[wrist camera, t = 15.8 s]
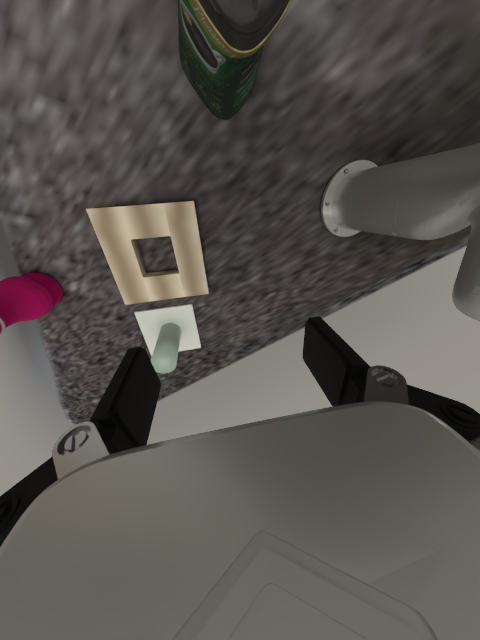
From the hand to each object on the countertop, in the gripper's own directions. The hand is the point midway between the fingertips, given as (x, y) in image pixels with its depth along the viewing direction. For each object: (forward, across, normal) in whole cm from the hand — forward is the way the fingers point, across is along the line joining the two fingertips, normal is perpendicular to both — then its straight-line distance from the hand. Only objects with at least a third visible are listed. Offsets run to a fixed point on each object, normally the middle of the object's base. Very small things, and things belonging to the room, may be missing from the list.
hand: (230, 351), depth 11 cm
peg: (+30, +13, +16) cm, 37 cm away
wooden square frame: (+31, +10, 0) cm, 33 cm away
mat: (+31, +13, +16) cm, 37 cm away
